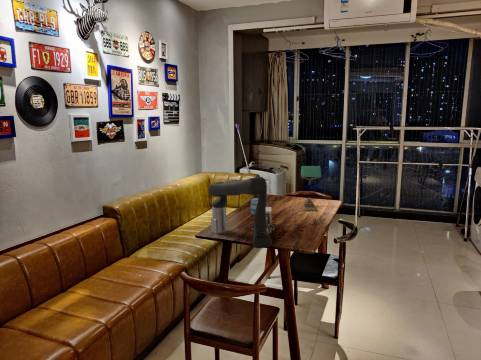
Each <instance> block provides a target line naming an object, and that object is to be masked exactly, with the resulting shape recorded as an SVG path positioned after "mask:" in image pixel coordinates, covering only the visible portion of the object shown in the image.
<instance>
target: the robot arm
mask: <svg viewBox="0 0 481 360" xmlns="http://www.w3.org/2000/svg"><path fill="white" fill-rule="evenodd" d="M207 189H208V193H209V195H210V196H212V198H216V199H215V200H213V201H212V203H211V216H212V217H210V230H211V232H212V233H213V234H216V235H217V234H218V235H219V234H225V233H227V202H228V201H227V200H228V196H230V197H231V196H232V197H233V196H234V197H235V196H240V195H250V196H251V195H252V196H254V195H257V196H258V197H257V198H258V203H257V206H256V209H255V212H254V214H253V216H252V217H253V223H252V224H251V231H252V232H253V238H252V245H253V248H255V249H266V248H267V249H268V248H270V247H271V246H272V244H273V243H272V242H273V241H272V237H271V235H270V230H271V232H274V231H275V224H272V222H271V223H269V224H267V222H266V214H267V213H266V200H267V196H268V195H267V193H268V192H267V191H268V186H267V181H266V179H265V177H263V176H256V177H251V178H246V179H244V180H239V179H233V180H232V179H231V180H228V181H217V182H212V183H210V184H209V186H208V188H207Z"/></svg>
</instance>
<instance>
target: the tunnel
mask: <svg viewBox="0 0 481 360" xmlns="http://www.w3.org/2000/svg"><path fill="white" fill-rule="evenodd" d="M266 214H269V216H270V223H271V224H272V207H271V206H267V207H266ZM271 233H272V230H269V234H271Z"/></svg>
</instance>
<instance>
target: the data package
mask: <svg viewBox="0 0 481 360" xmlns="http://www.w3.org/2000/svg"><path fill="white" fill-rule="evenodd" d="M257 203H258V197H257V198H255V197H254V198H252V199H251V200H250V214H251V215H254V212H255V209H256V206H257ZM266 207H268V200H267V199H266Z"/></svg>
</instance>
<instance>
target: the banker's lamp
mask: <svg viewBox="0 0 481 360" xmlns="http://www.w3.org/2000/svg"><path fill="white" fill-rule="evenodd" d="M300 168H301V169H300V178H301V179H304V180H308V184H311V182H312V180H316V179H320V178H322V168H321V166H320V165H317V166H316V165H303V166H301V167H300ZM303 208H304V210H305V212H310V211H312V212H313V211H316V212H317V209H316V205H315V203H314V201H312V199H311V198H308V199H307V200H306V201H304V203H303Z"/></svg>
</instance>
